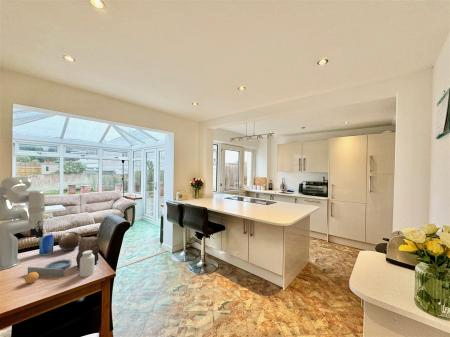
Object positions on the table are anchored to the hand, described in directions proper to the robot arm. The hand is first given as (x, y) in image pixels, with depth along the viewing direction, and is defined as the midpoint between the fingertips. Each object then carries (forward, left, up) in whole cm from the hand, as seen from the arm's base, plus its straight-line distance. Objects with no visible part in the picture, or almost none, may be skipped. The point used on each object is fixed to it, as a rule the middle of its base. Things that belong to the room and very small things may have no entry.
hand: (36, 236), depth 121 cm
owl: (+22, +15, -26) cm, 37 cm away
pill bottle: (+31, +6, -26) cm, 41 cm away
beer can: (-25, +30, -26) cm, 47 cm away
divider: (+5, +2, -26) cm, 27 cm away
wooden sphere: (-13, +39, -26) cm, 49 cm away
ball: (+5, -6, -23) cm, 24 cm away
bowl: (+5, +11, -26) cm, 29 cm away
